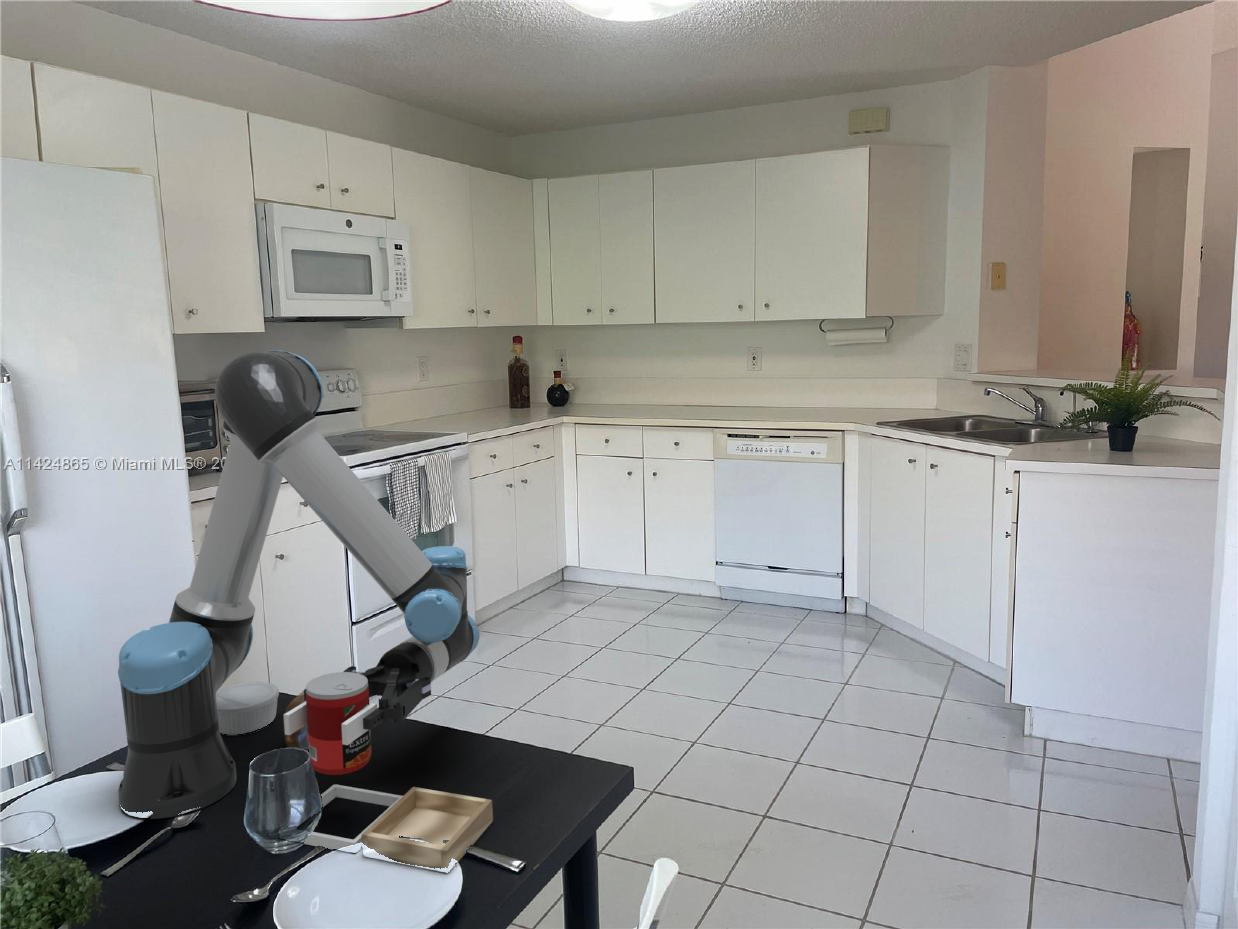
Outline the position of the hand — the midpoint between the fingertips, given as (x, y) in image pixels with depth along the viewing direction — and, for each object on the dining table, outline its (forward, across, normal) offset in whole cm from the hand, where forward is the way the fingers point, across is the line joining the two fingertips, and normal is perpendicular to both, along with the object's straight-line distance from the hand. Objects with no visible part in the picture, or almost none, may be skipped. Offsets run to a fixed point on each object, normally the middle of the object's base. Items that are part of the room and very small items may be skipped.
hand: (315, 729), depth 110 cm
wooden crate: (-5, -13, -15) cm, 20 cm away
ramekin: (-26, +35, -16) cm, 46 cm away
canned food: (-5, 0, -7) cm, 8 cm away
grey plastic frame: (-5, 0, -15) cm, 16 cm away
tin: (-25, +20, -16) cm, 36 cm away
